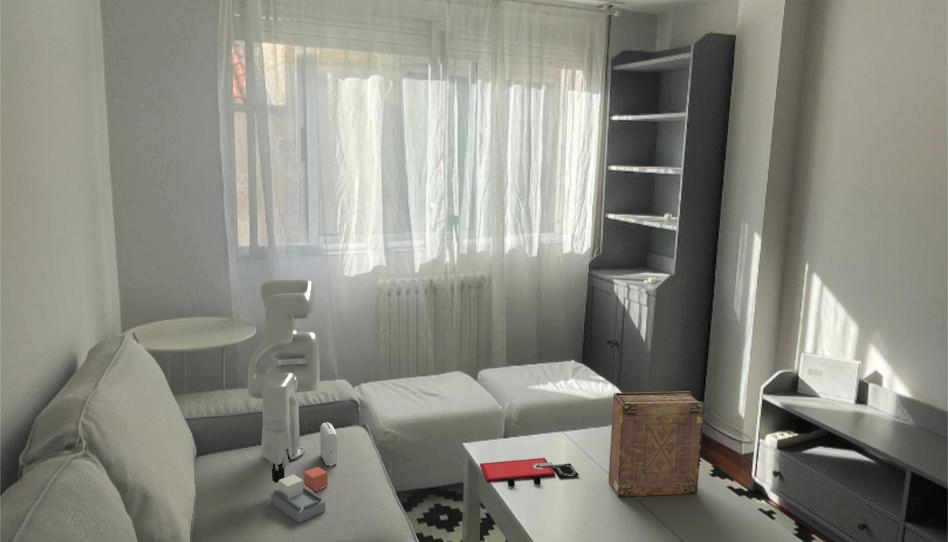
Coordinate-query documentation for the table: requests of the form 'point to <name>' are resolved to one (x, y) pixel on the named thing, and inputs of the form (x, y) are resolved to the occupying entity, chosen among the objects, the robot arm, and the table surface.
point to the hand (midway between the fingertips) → (278, 480)
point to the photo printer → (328, 443)
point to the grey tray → (299, 504)
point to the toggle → (291, 486)
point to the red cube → (315, 478)
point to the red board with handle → (524, 470)
